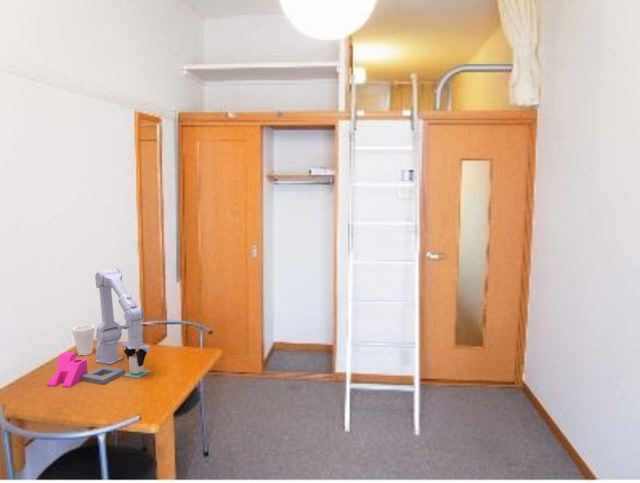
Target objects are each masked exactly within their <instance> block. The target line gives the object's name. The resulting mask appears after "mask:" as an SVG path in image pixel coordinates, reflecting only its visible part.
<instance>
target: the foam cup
mask: <svg viewBox="0 0 640 483" xmlns="http://www.w3.org/2000/svg"><path fill="white" fill-rule="evenodd" d="M94 334H95V326H94V325H93V324H82V325H81V324H80V325H77V326H75V327H73V328H72V335H73V338H74V342H75V346H76V351H77V355H78V356H80V355H84V356H88V355H91V354H93V350H94V338H95V337H94V336H95V335H94Z"/></svg>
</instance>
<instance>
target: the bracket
mask: <svg viewBox="0 0 640 483" xmlns="http://www.w3.org/2000/svg"><path fill="white" fill-rule="evenodd" d="M55 366H58V367H57V370H56V372H55V374H54V376H52V377H50V378H49V380H48V381H47V384H46V387H51V388H55V387H57V386H59V385H60V384H62V388H67V389H68V388H69V389H71V388H73V387H74V386H76V385H77V384H79V382H81V381H82V376H83V375H85V374H87V373H89V371H88V359H86V358H77V357H76V352H63V353H61V354H60V355H59V356H58V359H57V361H56V363H55Z"/></svg>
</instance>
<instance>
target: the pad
mask: <svg viewBox="0 0 640 483" xmlns="http://www.w3.org/2000/svg"><path fill="white" fill-rule="evenodd" d="M150 373H152V372H151V370H148V369H147V370H146V369H143V371H141V372H139V373H137V374H135V373H131V372H130V371H129V372H127V373H125V374H124V375H122V376H123V377H127V378H132V379H137V380H139V379H140V378H143V377H144V376H146V375H148V374H150Z"/></svg>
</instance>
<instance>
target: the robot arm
mask: <svg viewBox="0 0 640 483" xmlns="http://www.w3.org/2000/svg"><path fill="white" fill-rule="evenodd" d="M94 279H95V286H96V289H99V298H100V299H99V300H100V309H101V320H102V322H101V323H100V324H99V325H98V326H97V327H96V335H95V338H96V340H97V344H96V347H95V354H96V356H95V357H96V360H94V362H96V363H100V364H101V363H102V364H107V365H112V364H115V363H116V362H119V361H120V360H121V361H122V360H123V359H124V357H122V356H119V342H120V340H121V338H122V333H123V332H122V330H121V327H120V326H121V325H120V323H118V322H116V321H115V317H114V316H115V314H114V305H113V295H112V294H113V293H112V290H113V291H114V292H115V294H116V295H117V297H118V298H119V299H118V304H119V305H120V307H121V309H122V311H123V313H124V316H123V317H124V320H125V325H126V326H127V340H128V341H127V342H126V341H124V342H121V343H120V347H121V348H125V349H124V350H123V353H124V354H125V355H126V357H127V360H128V361H129V357H130V356H132V355H134V354H136V355H137V359H138V366H142V365H143V366H144V363H145V358H146V356H147V354H148V352H150V351H151V350H152V348H151V345H148V344H145V343H143V327H142V326H143V325H142V324H143V323H142V320H143V319H144V318H145V313H144V312H145V311H144V309H143V308H142V306H140V305H139V304H137V303H136V302H135V300H134V298H133V296H132V294H128V293H127V291H126V288H125V286H124V284H123V274H122V271H121V270H120V269H119V268H113V269H106V270H98V271H97V272H96V274H95V277H94Z"/></svg>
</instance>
